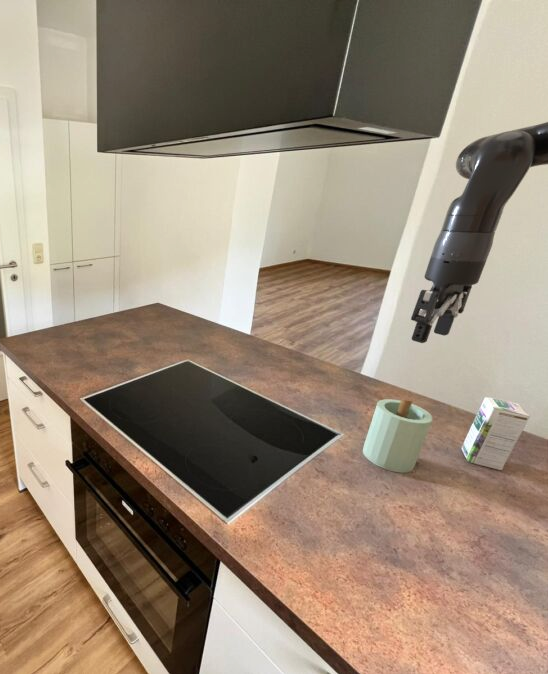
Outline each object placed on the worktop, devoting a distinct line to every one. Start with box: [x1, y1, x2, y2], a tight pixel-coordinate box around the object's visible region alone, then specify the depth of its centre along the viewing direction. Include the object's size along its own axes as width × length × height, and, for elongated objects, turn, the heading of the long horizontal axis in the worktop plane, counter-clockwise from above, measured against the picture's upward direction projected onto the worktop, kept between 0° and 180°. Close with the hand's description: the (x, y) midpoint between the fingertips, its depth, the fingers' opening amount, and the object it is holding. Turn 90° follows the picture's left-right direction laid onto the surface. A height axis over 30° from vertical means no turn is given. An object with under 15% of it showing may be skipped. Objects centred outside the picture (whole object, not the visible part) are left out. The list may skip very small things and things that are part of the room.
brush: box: [396, 396, 414, 418], centre depth 80 cm, size 3×3×15 cm
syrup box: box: [461, 397, 531, 471], centre depth 80 cm, size 6×6×14 cm
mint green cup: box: [362, 398, 434, 474], centre depth 81 cm, size 9×9×13 cm
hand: (429, 337), depth 72 cm, fingers open, 8 cm apart
